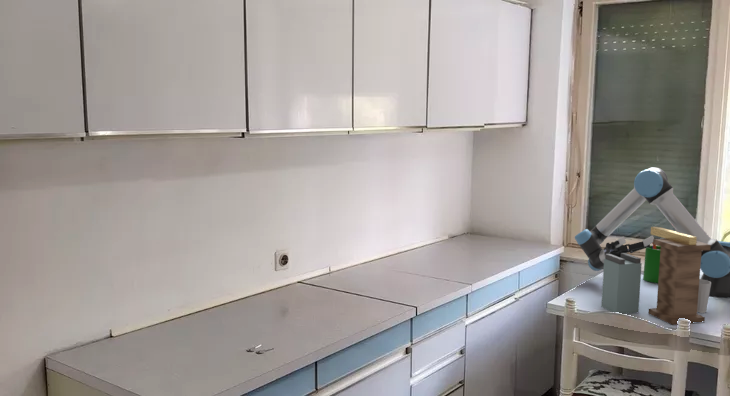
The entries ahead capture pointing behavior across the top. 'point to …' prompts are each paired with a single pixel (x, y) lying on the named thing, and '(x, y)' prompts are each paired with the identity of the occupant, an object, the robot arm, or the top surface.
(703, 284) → the cup
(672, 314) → the walnut stand
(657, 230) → the brass bar
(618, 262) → the block
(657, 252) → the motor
